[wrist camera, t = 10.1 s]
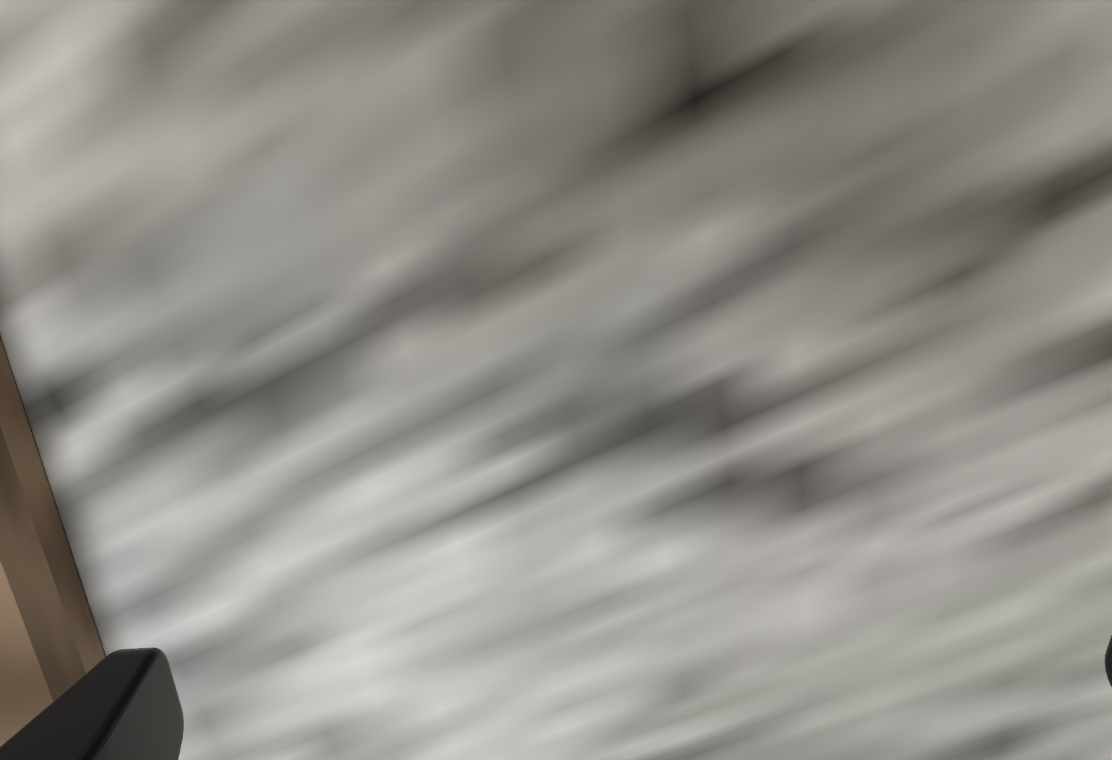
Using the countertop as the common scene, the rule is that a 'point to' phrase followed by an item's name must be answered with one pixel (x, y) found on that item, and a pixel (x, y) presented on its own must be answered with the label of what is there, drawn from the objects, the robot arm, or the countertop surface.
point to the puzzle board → (35, 580)
